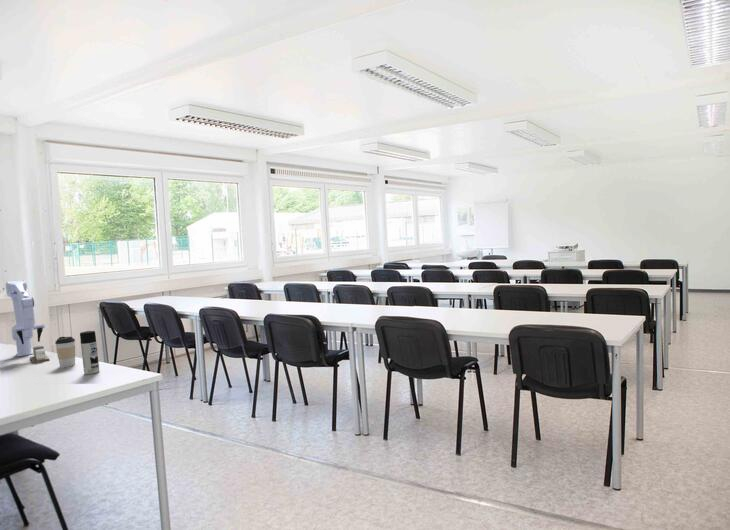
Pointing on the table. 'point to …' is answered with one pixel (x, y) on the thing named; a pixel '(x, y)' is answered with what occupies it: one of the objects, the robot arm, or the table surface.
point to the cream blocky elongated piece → (39, 356)
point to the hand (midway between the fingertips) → (30, 342)
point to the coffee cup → (66, 351)
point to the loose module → (37, 349)
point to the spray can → (89, 352)
